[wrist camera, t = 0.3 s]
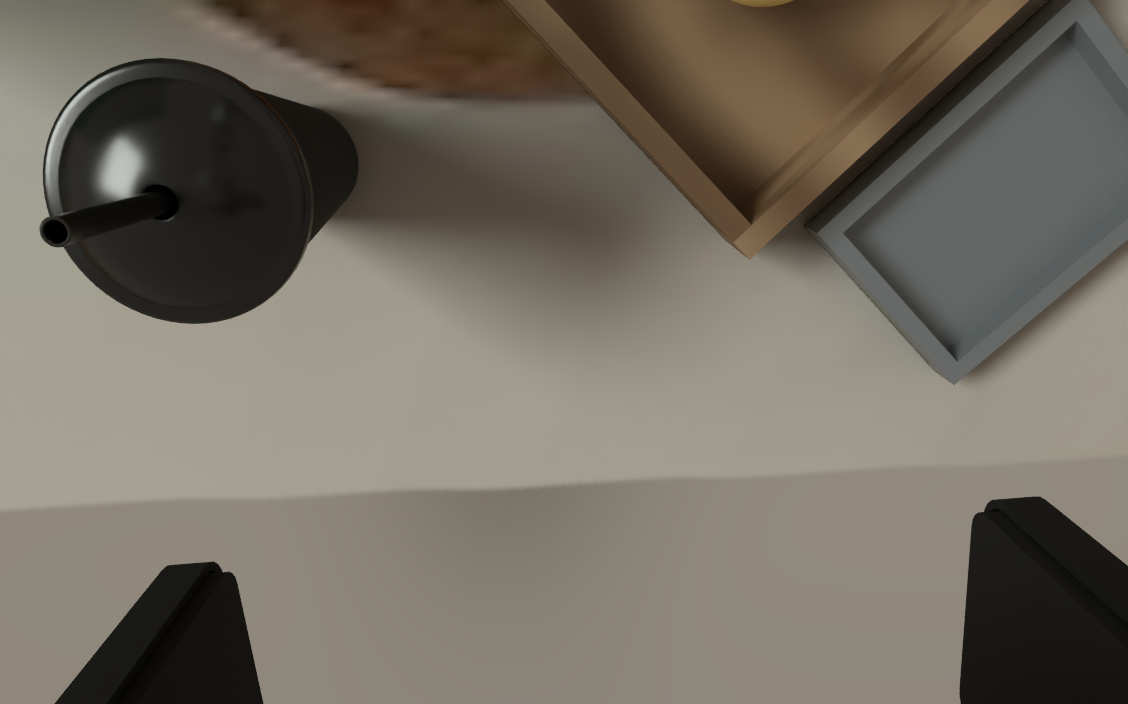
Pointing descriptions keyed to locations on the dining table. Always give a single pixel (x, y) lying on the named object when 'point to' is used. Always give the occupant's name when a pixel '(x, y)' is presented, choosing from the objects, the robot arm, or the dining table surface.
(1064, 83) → the dish
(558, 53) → the walnut box
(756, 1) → the ball
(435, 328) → the dining table surface
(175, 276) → the drinking cup
